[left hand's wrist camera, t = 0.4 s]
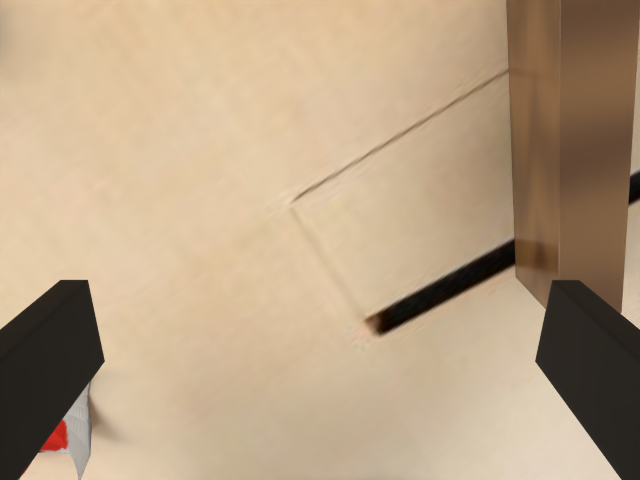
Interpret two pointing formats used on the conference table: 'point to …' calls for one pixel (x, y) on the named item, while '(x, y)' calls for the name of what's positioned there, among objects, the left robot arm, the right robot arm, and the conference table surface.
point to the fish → (73, 434)
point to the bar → (572, 140)
